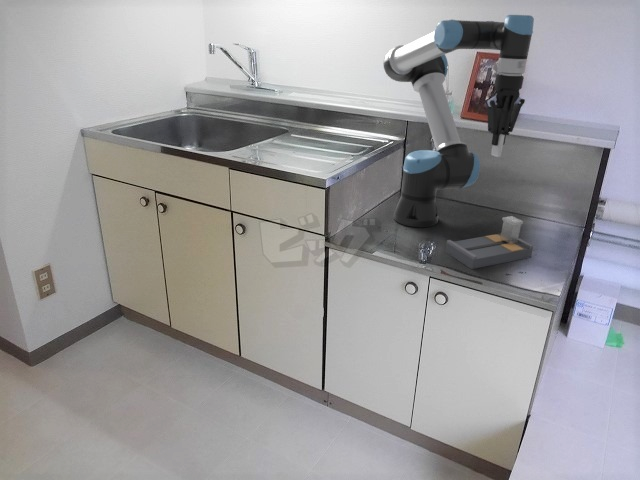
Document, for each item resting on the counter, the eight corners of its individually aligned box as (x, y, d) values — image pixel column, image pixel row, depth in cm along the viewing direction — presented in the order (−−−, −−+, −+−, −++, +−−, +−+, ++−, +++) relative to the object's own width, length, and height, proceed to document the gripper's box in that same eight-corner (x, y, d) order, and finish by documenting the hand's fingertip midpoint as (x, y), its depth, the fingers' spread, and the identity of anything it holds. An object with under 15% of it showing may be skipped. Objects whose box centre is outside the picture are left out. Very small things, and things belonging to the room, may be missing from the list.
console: (445, 252, 154) (446, 240, 152) (502, 241, 162) (504, 230, 161) (471, 269, 144) (473, 256, 142) (530, 257, 152) (533, 245, 151)
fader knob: (498, 238, 156) (502, 216, 153) (507, 236, 157) (512, 215, 154) (509, 244, 152) (513, 222, 149) (518, 242, 153) (523, 220, 150)
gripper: (501, 76, 140) (487, 160, 150) (537, 75, 145) (521, 157, 155) (483, 72, 146) (470, 154, 156) (517, 72, 151) (503, 151, 161)
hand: (495, 155), depth 155 cm, fingers closed
